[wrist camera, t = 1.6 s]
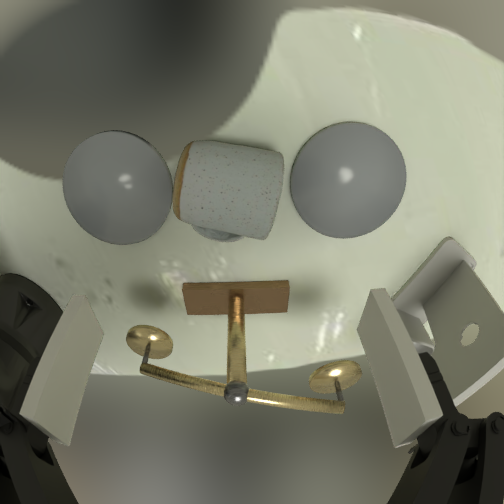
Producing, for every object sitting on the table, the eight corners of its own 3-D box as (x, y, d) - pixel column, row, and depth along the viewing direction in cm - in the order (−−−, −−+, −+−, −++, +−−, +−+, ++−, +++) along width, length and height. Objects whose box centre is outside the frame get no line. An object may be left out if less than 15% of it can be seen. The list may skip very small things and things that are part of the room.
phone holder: (403, 337, 42) (441, 431, 27) (364, 324, 39) (403, 436, 24) (476, 261, 34) (541, 349, 19) (446, 232, 31) (530, 337, 16)
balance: (147, 310, 35) (118, 423, 22) (137, 280, 33) (97, 400, 19) (328, 305, 36) (361, 419, 23) (335, 274, 33) (379, 395, 20)
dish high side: (287, 235, 30) (288, 239, 29) (292, 117, 23) (294, 118, 23) (390, 233, 30) (393, 237, 30) (410, 129, 24) (414, 131, 23)
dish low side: (82, 242, 29) (79, 246, 29) (56, 141, 23) (52, 143, 22) (180, 238, 30) (179, 242, 29) (166, 122, 23) (164, 123, 22)
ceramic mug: (190, 129, 24) (172, 152, 18) (279, 143, 25) (292, 170, 19) (181, 228, 29) (166, 274, 23) (257, 238, 30) (261, 286, 24)
